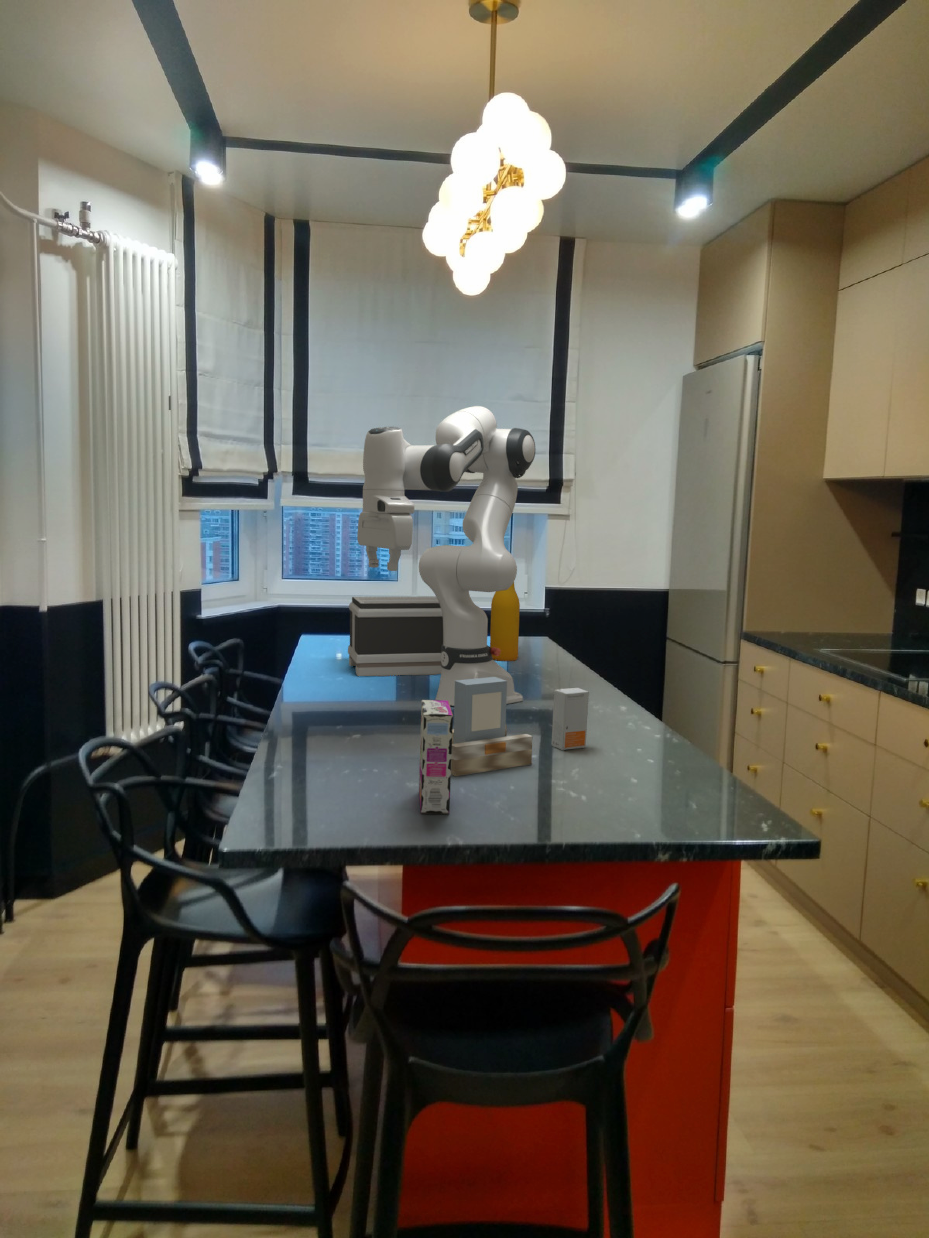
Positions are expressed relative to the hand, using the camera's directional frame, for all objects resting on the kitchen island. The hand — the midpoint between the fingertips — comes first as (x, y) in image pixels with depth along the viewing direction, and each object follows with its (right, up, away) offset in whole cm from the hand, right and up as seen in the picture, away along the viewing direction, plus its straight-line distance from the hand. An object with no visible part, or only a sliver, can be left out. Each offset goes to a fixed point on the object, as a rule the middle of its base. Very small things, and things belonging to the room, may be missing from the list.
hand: (382, 569), depth 185 cm
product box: (+20, -35, -19) cm, 45 cm away
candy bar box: (+13, -42, -41) cm, 60 cm away
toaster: (+1, -26, +71) cm, 76 cm away
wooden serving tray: (+20, -38, -18) cm, 47 cm away
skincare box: (+39, -38, -6) cm, 55 cm away
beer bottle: (+30, -24, +93) cm, 101 cm away
